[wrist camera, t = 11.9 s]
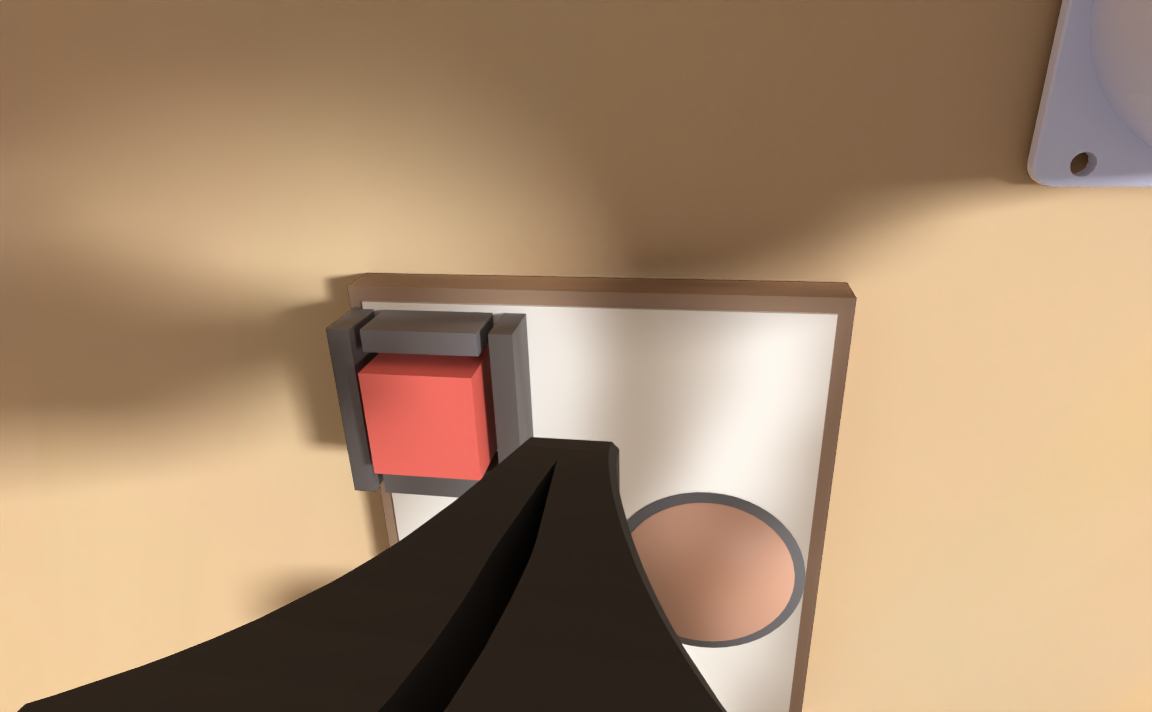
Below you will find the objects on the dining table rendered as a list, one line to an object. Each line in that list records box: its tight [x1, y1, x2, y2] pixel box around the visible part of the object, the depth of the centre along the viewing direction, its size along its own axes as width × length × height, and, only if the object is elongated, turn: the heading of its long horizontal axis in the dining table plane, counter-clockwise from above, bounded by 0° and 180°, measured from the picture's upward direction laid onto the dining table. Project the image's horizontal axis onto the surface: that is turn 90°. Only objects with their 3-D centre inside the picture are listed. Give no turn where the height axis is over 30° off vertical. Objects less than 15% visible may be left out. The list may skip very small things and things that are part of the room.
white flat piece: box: [326, 273, 856, 712], centre depth 21 cm, size 13×15×3 cm
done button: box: [358, 349, 497, 480], centre depth 19 cm, size 3×3×2 cm
